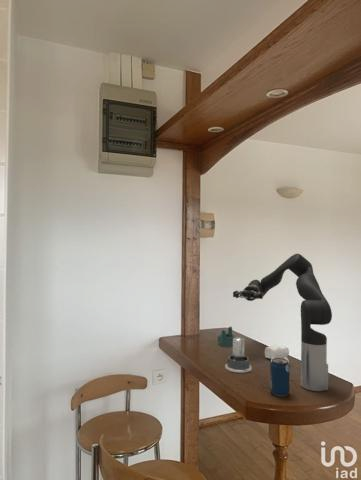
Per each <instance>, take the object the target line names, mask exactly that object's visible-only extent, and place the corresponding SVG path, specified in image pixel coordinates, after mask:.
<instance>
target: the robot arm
mask: <svg viewBox="0 0 361 480" xmlns="http://www.w3.org/2000/svg"><path fill="white" fill-rule="evenodd" d="M313 269H314V267H313V264H312V263H311V261H309V260H307V259H306V258H305V257H304V256H303V255H302V254H301V253H295V254H293V255H291V256H289V257H288V258H287V259H286V260H285V261H284V262H282V263H281V264H280V265H279V266H278V267H277V268H275V269H274V270H273V271H272V272H270V273H269V274H268V275H265V276H264V277H262V278H261V280H258V279H253V280H251V281H250V282H249V283H248V284H247V286H245V288H243V290H234V291H232V297H233V298H236V299H238V298H240V299H245V300H246V301H247V302H253V301H255V300H259V299H260V300H263V298H264V296H265V295H266V294H267V293H268V292H269V291H271V289H273V288H275V287H276V286H278V285H279V284H280V283H281V282H282V279H283V276H284V274H285V272H286V271H287V270H289V271H291V273H292V274H294V275H295V276H296V277H297V279H296V281H295V282H296V283H295V285H296V289H297V293H298V295H299V296H300V297H301V298H302V299H303V300H302V301H301V304H300V327H301V328H300V329H301V331H300V333H301V334H300V335H301V337H300V338H301V342H300V343H301V344H300V345H301V347H300V351H301V352H300V358H301V359H300V385H301V387H302V388H303V389H306V390H307V391H308V390H309V391H313V392H323V391H329V364H328V363H327V362H328V361H327V360H328V359H327V355H328V354H327V353H328V352H327V351H328V350H327V346H328V345H327V344H328V342H327V341H328V339H327V336H326V334H324V333H322V332H319V331H317V330H315V329H314V328H313V327H311V325H316V326H317V325H318V326H325V325H329V324H330V323H331V321H332V319H333V312H332V309H331V306H330V303H329V301H328V300H327V298H326V297H325V295H324V293H322V292H323V291H322V290H321V287H320V285H319V282H318V280H317V279H316V276H315V274H314V270H313Z"/></svg>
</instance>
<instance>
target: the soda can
mask: <svg viewBox="0 0 361 480" xmlns="http://www.w3.org/2000/svg"><path fill="white" fill-rule="evenodd" d="M288 360H289V359H288ZM288 360H286V359H282V358H274V359H272V362H271V361H270V365H269V373H270V374H269V390H270V392H271V394H273V395H274V396H276V397H286V396H288V394H289V393H290V383H291V382H290V380H291V379H290V374H291V373H290V372H291V370H290V368H291V367H290V364H289V363H288Z"/></svg>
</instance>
